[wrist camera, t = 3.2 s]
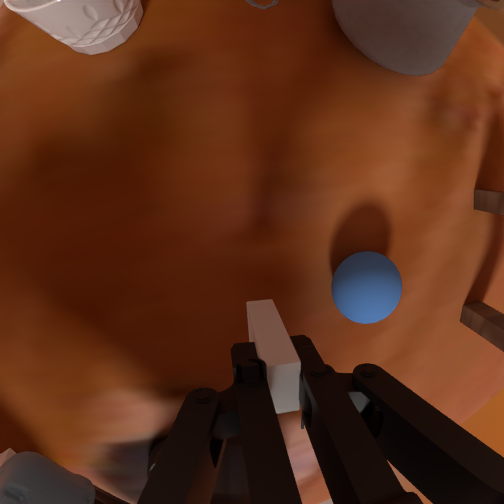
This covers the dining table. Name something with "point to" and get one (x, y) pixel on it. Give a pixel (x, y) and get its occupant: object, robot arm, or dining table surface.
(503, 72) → the dining table surface
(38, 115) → the dining table surface
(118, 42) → the white cup
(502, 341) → the bridge
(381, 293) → the ball
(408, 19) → the coffee pot
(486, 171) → the dining table surface
